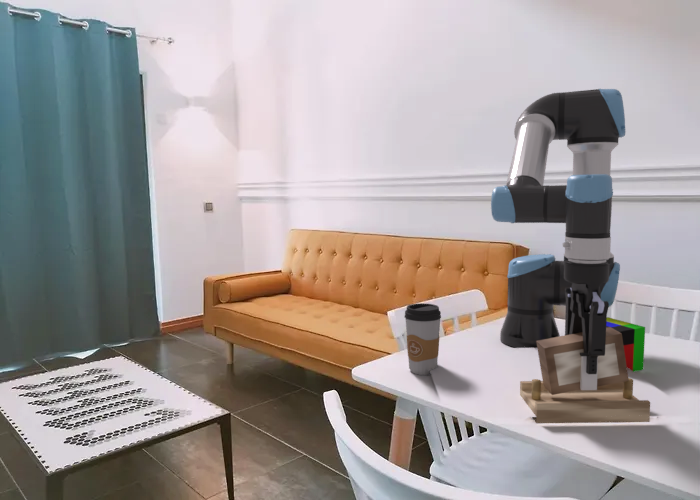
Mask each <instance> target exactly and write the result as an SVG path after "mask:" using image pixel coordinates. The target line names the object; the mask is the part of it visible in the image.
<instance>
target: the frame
mask: <svg viewBox="0 0 700 500" xmlns="http://www.w3.org/2000/svg"><path fill="white" fill-rule="evenodd" d="M536 343H537V348H536V349H537V354H538V358H539V359H538V360H539V366H540V372H541V377H542V378H541V379H542V381H543V385H544V387H545V388H546V389H547V390H548V391H549V392H550V393H551V394H552V395H555V394H560V393H566V392H571V391H576V390H581V389H580V378H581V356H580V353H584V348H583V332H581V333H575V334H570V335H565V334H564V335H561V336H560V337H554V338H549V339H544V340H538V341H536ZM628 374H629V373H628V368H627V366H626V359H625V352H624V345H623V339H622V333H620V332H618V331H616V330H615V329H613V328H611V327H607V328H606V343H605V355H604V356H598V372H597V387H598V386H603V385H609V384H614V383H620V382H625V381H629V379H628V378H629V375H628Z"/></svg>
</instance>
